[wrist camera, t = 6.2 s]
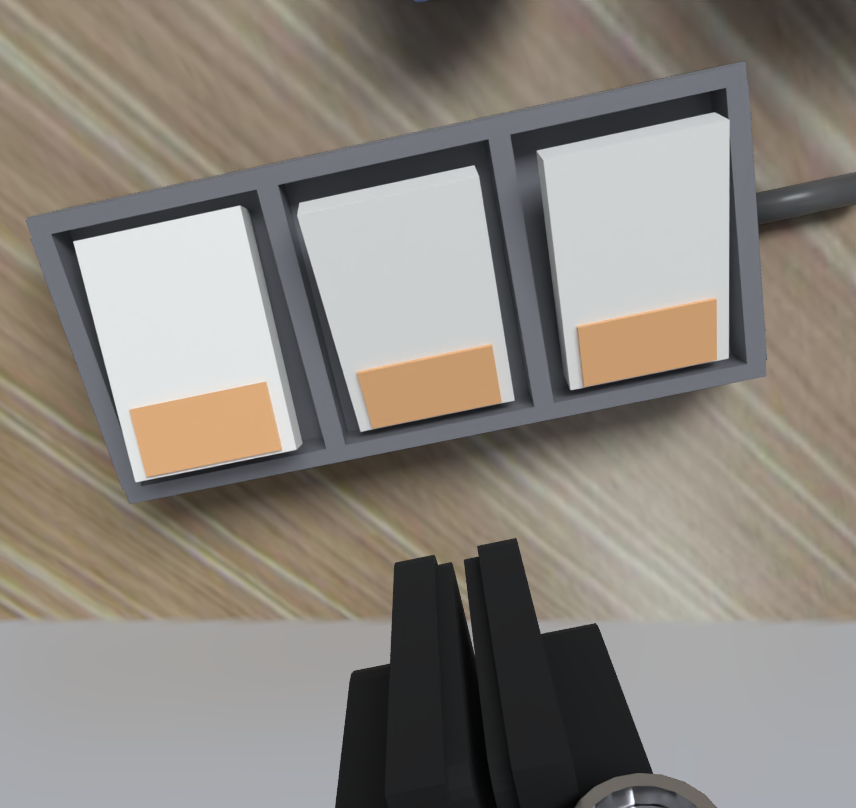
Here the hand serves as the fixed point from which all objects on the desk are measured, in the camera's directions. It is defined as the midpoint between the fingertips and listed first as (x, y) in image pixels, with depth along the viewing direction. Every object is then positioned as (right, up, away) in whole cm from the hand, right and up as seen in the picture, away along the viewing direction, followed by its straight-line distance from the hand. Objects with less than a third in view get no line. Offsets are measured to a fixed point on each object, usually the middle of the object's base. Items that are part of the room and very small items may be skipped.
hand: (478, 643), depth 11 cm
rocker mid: (-1, +6, +13) cm, 14 cm away
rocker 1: (-8, +5, +13) cm, 16 cm away
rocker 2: (+5, +8, +12) cm, 15 cm away
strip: (+1, +8, +16) cm, 18 cm away
